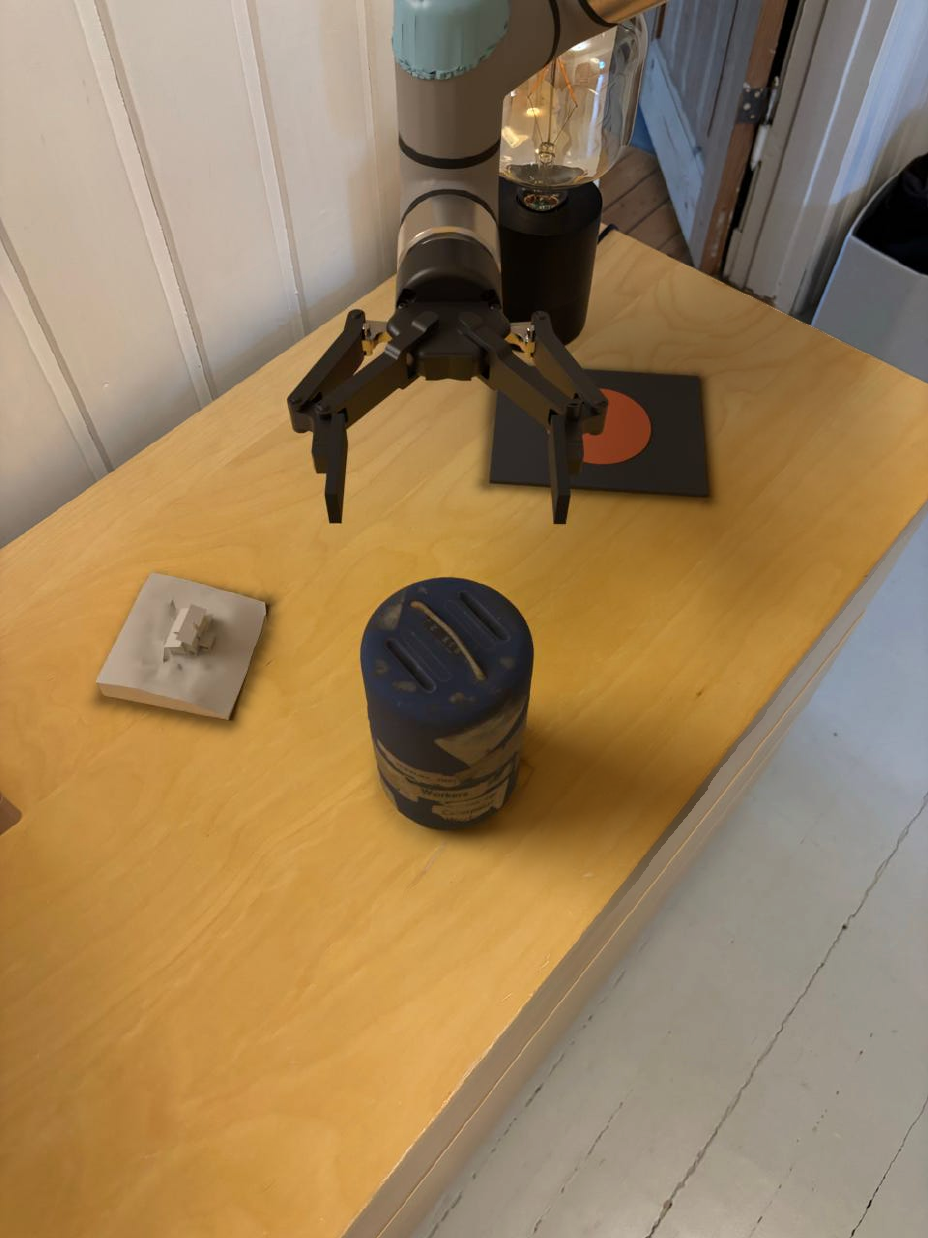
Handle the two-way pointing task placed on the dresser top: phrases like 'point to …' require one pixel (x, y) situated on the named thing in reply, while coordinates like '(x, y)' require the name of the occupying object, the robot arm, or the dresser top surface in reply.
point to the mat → (615, 439)
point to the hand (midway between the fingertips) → (447, 510)
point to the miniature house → (184, 647)
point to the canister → (447, 699)
